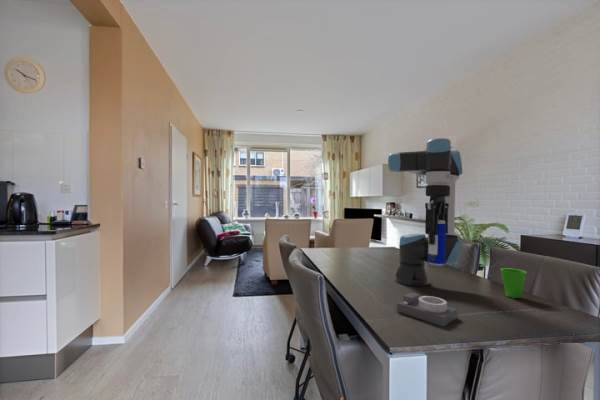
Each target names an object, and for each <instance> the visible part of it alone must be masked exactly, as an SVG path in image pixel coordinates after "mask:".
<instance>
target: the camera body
mask: <svg viewBox="0 0 600 400" xmlns="http://www.w3.org/2000/svg"><path fill="white" fill-rule="evenodd" d="M396 312H397V313H400V314H404V315H407V316H410V317H412V318H415V319H418V320H419V319H420V320H422V321H424V322H427V323H431V324H434V325H436V326H440V327H446V326H447V325H448V324H450V323H452V322H453V321H455V320H457V319H458V308H455V307H451V306H449V305H448V302H447V300H445V299H443V298H440V297H437V296H432V295H431V296H430V295H420V293H417V292H416V293H415V292H412V291H411V292H409V293H407V294H403V300H401V301H399V302H397V303H396Z"/></svg>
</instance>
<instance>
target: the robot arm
mask: <svg viewBox="0 0 600 400" xmlns="http://www.w3.org/2000/svg"><path fill="white" fill-rule="evenodd" d="M451 144H452V143H451V140H450V139H449V138H444V137H443V138H441V137H440V138H432V139H429V140H428V141H427V142H426V147H425V148H426V149H425V150H417V151H404V152H403V151H402V152H401V151H397V152H392V153H391V152H390V154H389V155H388V159H387V166H388V170H389V171H390V172H396V173H398V172H408V173H410V174H414V175H419V176H425V184H426V186H425V196H426V197H429V202H425V203H424V207H425V227H424V229H425V230H424V231H425V233H411V234H410V233H409V234H404V235H401V236H400V237H399V245H398V246H399V253H398V255H399V257H398V258H399V259H398V260H399V263H398V267H397V270H396V273H395V274H394V275H395V276H394V277H395V279H394V281H395V282H397V283H399V284H401V285H405V286H410V287H411V286H412V287H423V286H425V287H426V286H428V285H429V277H428V274H427V270H426V266H425V264H426V263H429V262H428V254H434V255H437V254H438V235H436V233H437V226H438V220H445V223H446V235H445V264H444V265H457V264H458V262H459V259H460V253H461V245H462V239H460V238H459V235H458V234H457V233H456V232H455V225H456V224H455V223H456V221H455V218H456V217H455V215H456V214H455V213H456V209H455V208H456V183H457V181H458V180H459V179H460V176H461V175H463V163H462V162H463V161H462V158H461V152H460V151H458V150H452V145H451ZM426 235H428V236H427V237H426Z"/></svg>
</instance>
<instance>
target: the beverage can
mask: <svg viewBox="0 0 600 400" xmlns="http://www.w3.org/2000/svg"><path fill="white" fill-rule="evenodd" d="M436 235H438V254H437V255H434V254H428V262H427V263H429V265H430V266H431V265H432V266H441V267H442V266H444V265H446V264H445V235H446V223H445V220H438V226H437V233H436Z"/></svg>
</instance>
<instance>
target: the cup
mask: <svg viewBox="0 0 600 400" xmlns="http://www.w3.org/2000/svg"><path fill="white" fill-rule="evenodd" d="M499 270H500V271H501V277H502V283H503V288H504V295H505V296H506V297H507V296H509V297H512V298H511V299H514V298H520V299H521V298H522V294H523V289H524V284H525V280H526V274H528V272H527V271H526V270H522V269H518V268H510V267H508V268H507V267H504V268H500V269H499ZM509 297H508V298H509Z"/></svg>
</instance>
